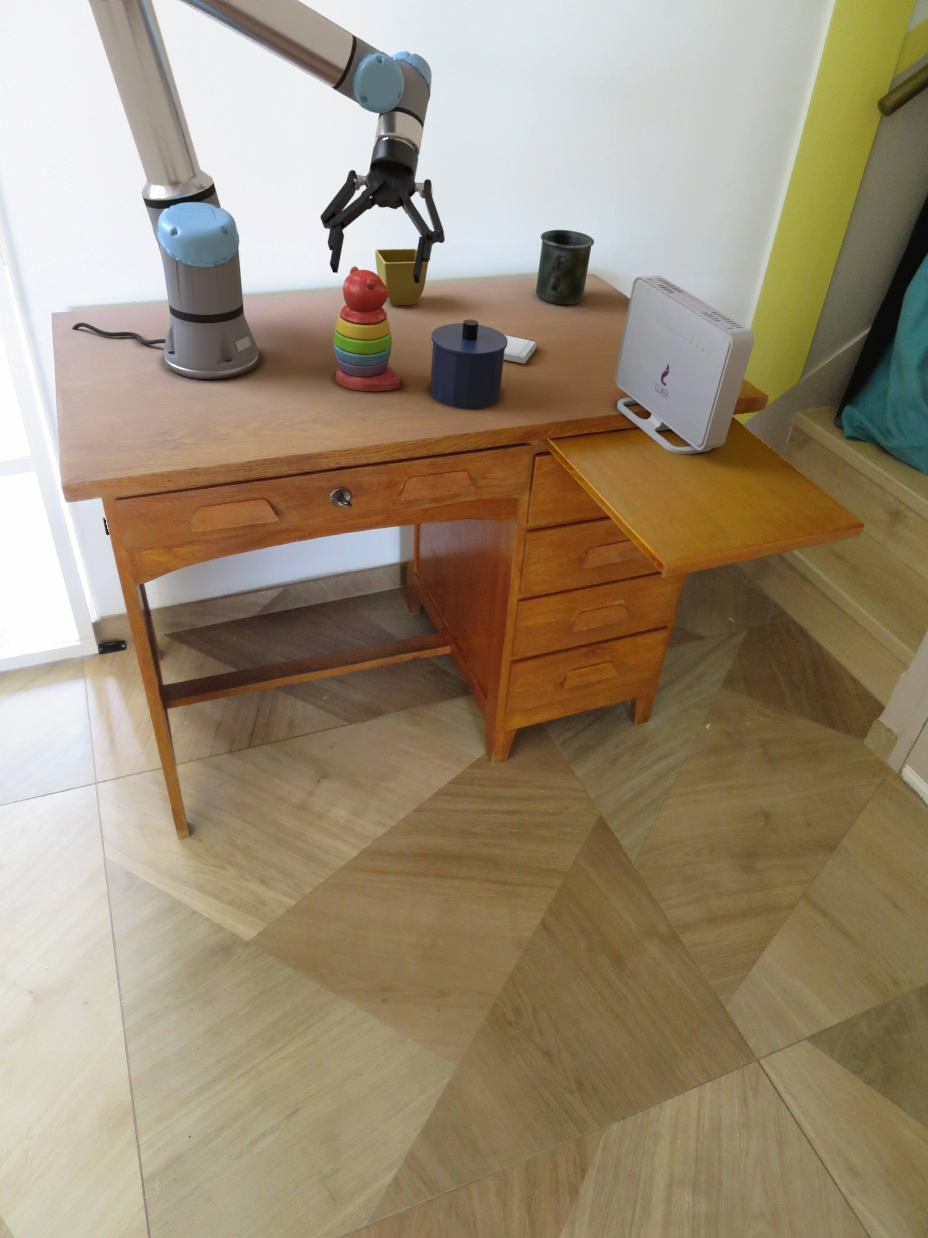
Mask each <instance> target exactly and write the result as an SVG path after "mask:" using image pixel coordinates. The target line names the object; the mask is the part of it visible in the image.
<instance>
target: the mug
mask: <svg viewBox="0 0 928 1238" xmlns="http://www.w3.org/2000/svg"><path fill="white" fill-rule="evenodd" d="M540 239H541V249H540V257H539V264H538V265H539V266H538V272H537V279H536V287H535V294H536V296H537V297H538V298H539V299H540V300H542V301H544V302H546V303H550V304H555V305H562V306H565V305H574V304H578V303H581V301H582V299H584V293H585V288H586V281H587V275H588V269H589V264H590V258H591V250H592V246H594V244H595V239H594V238H593V237H591V236H590V235H589V234H585V233H583V232H579V231H575V230H570V229H569V230H568V229H552V230H547V231H544V232H542V233H541V235H540Z"/></svg>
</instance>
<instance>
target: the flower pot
mask: <svg viewBox="0 0 928 1238" xmlns="http://www.w3.org/2000/svg"><path fill="white" fill-rule="evenodd" d="M417 249H418V248H383V249H382V248H380V249H379V248H378V249H375V250H374V255H375V265H376V266H375V267H376V274H377V275H378V276H379V277H380V279H381V280H382V282H383V283H384V285H386V286H387V287H388V289H389V295H388V298H387V300H386V301H387V302H388V304H390V306H410V305H411V306H413V305H416V304H417V303H418V301H419V300H420V298H421V296H422V294H423V293H424V290H425V285H426V279H427V273H428V266H429V262H428V263H427V262H423V265H422V271H421V277H420V282H419V283H415V282H414V277H413V272H414V266H415V260H416V254H417Z"/></svg>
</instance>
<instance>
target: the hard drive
mask: <svg viewBox="0 0 928 1238" xmlns="http://www.w3.org/2000/svg"><path fill="white" fill-rule="evenodd" d="M504 335H505V336H506V338H507V340H508V343H507V347H506V348H505V352H504V361H508V362H514V363H517V364H526V362H527V361H528V360H529V359H530V357H531V356H532V354H533V353H534V352H535V351H536V349H537V341H533V340H530V339H529V340H528V339H524V338H520V337H514V336H511V335H506V334H504Z"/></svg>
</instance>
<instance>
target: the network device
mask: <svg viewBox="0 0 928 1238" xmlns="http://www.w3.org/2000/svg"><path fill="white" fill-rule="evenodd" d="M754 344H755V337H754V333H753V331H752V329H750V328H749V327H747V326H745V325H743V324H742V323H740V322H738V321H737V320H735V319H733V318H731V317H730V316H728V315H727V314H725V313H723V312H722V311H720V310H718V309H717V308H715V307H713V306H711V305H710V304H708V303H707V302H705V301H703V300H702V299H700V298H698V297H697V296H695V295H693V294H692V293H690V292H688V291H686V289H683V288H681V287H680V286H678V285H676V284H675V283H673V282H672V281H670V280H668V279H666V278H665V277H663V276H661V275H660V274H658V275H646V276H636V277H635V279H634V280H633V282H632V286H631V292H630V297H629V302H628V306H627V312H626V318H625V323H624V328H623V332H622V339H621V343H620V348H619V354H618V358H617V363H616V364H617V365H616V368H615V375H614V379H615V383H616V386H617V387H618V388H619V389H620V390H622V391H623V392H624V393H625V394H627V395H628V396H629V397H628V396H627V397H623V398H620V399H619V400H617V405H616V408H617V410H618V411H619V412H620V413H621V414H623V415H624V416H625V417H626V418H627V419H629V420H630V421H631V422H632V423H633V424H635V425H636V426H637V427H638V428H639V429H641V430H642V431H643V432H644V433H645V434H647V435H648V436H649V437H650V438H651V439H652V440H654V441H655V442H656V443H657V444H659V445H660V446H661V447H662V448H663V449H665V450H667V451H668V452H671V453H674V454H679V455H691V454H698V453H703V452H708V451H711V450H712V449H716V448H721V447H723V446H724V445H725V443H726V440H727V436H728V433H729V430H730V426H731V423H732V419H733V415H734V413H735V409H736V406H737V402H738V399H739V395H740V392H741V389H742V385H743V382H744V379H745V375H746V371H747V367H748V365H749V361H750V358H751V354H752V351H753V347H754ZM635 404H639V405H640V406H642V407H643V408H644V409H645V410H646V411H648V413H650V417H649V418H647V419H645V418H641V417H639V416H637V414H635V413H634V412H633V411H631V410H630V409H629V408H628V407H626V406H629V405H635ZM665 430H666V431H667V430H672V431H673V432H674V433H675V434H677V436H679V437H680V438H681V439H682V440H684V441H685V442H687V444H688V445H689V446H675V445H673V444H671V443H670V442H669V441H668V440H666V438H664V437H663V436H662V435H660V434H659V433H658V432H659V431H665Z"/></svg>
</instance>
